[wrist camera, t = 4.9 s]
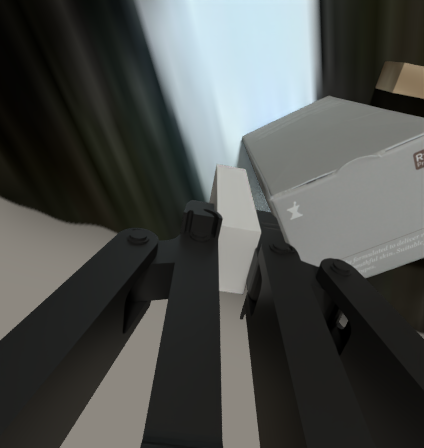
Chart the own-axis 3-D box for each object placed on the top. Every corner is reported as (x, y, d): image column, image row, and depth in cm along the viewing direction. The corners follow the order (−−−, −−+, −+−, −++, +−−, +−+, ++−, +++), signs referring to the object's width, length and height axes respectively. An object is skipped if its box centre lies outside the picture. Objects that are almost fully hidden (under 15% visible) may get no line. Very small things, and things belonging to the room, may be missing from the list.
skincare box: (265, 195, 32) (305, 313, 18) (236, 126, 29) (257, 202, 15) (353, 160, 30) (474, 259, 16) (333, 82, 27) (460, 121, 13)
